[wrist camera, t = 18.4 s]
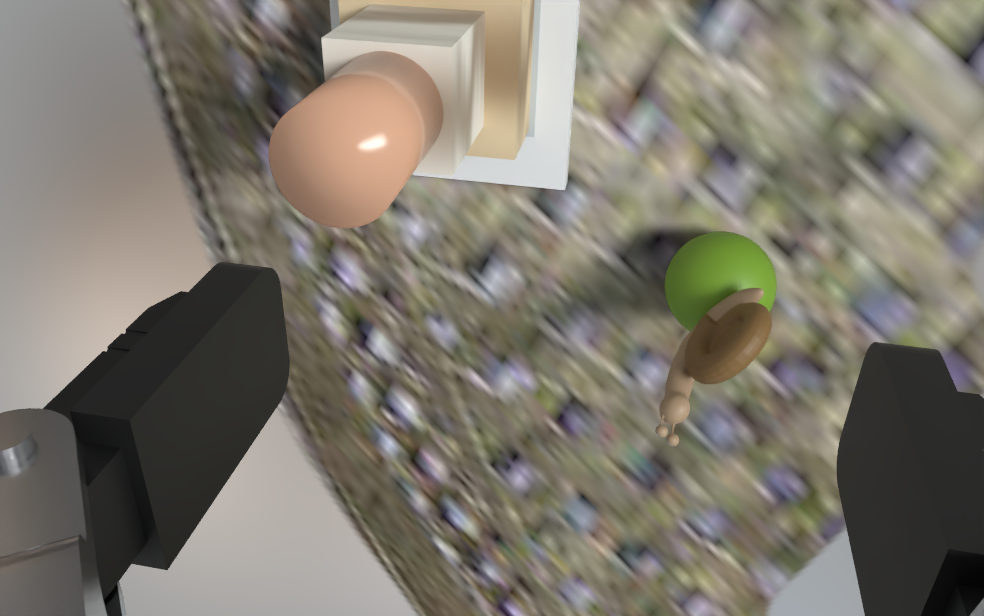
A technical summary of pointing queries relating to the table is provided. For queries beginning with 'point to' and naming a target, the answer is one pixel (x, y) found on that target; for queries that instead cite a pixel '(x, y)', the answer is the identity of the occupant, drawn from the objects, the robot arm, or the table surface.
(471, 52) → the maple cube
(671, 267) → the snail figurine
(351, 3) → the oak base block
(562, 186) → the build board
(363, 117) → the peach rounded cylinder
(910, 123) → the table surface
